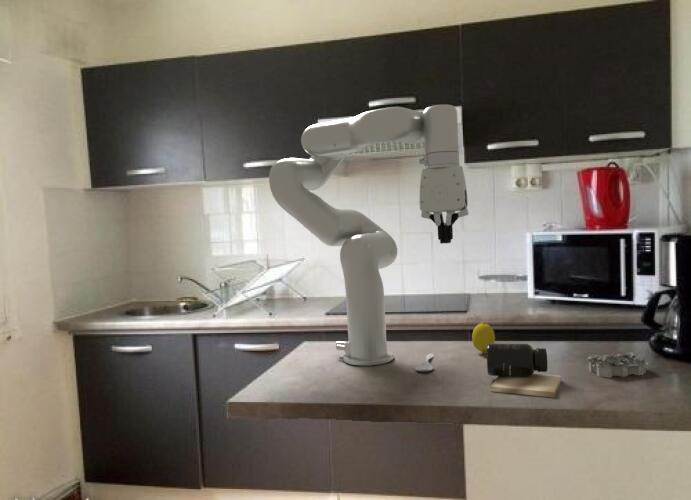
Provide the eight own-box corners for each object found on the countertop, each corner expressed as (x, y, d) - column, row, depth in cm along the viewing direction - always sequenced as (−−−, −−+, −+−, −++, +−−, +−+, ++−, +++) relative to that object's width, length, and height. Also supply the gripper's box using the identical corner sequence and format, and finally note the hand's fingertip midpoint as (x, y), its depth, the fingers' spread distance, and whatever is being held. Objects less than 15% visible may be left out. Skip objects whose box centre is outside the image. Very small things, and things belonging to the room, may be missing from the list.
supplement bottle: (487, 374, 114) (549, 374, 111) (485, 340, 116) (546, 340, 113) (487, 377, 120) (546, 378, 117) (486, 346, 123) (543, 346, 120)
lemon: (477, 349, 143) (476, 319, 143) (498, 352, 140) (497, 320, 140) (469, 355, 139) (468, 323, 138) (490, 357, 136) (489, 325, 135)
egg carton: (599, 379, 115) (598, 360, 115) (584, 369, 123) (584, 351, 123) (651, 377, 115) (650, 357, 115) (633, 367, 123) (633, 348, 122)
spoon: (413, 376, 126) (413, 369, 125) (424, 352, 145) (424, 346, 145) (432, 376, 124) (431, 369, 124) (440, 352, 144) (440, 346, 144)
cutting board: (490, 391, 111) (490, 386, 111) (502, 375, 121) (502, 371, 121) (554, 397, 106) (554, 392, 106) (561, 380, 115) (561, 375, 115)
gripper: (404, 163, 125) (408, 245, 126) (470, 157, 118) (474, 243, 119) (416, 165, 132) (420, 242, 133) (479, 159, 125) (482, 241, 126)
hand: (445, 242), depth 126 cm, fingers closed
